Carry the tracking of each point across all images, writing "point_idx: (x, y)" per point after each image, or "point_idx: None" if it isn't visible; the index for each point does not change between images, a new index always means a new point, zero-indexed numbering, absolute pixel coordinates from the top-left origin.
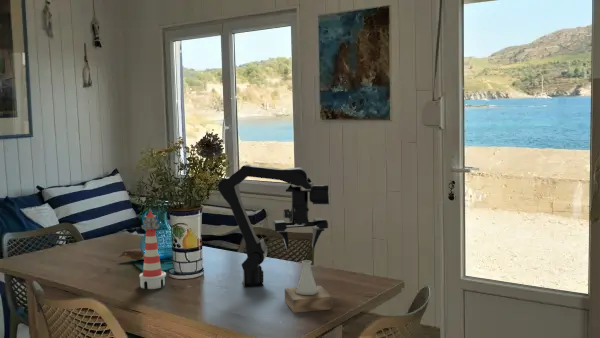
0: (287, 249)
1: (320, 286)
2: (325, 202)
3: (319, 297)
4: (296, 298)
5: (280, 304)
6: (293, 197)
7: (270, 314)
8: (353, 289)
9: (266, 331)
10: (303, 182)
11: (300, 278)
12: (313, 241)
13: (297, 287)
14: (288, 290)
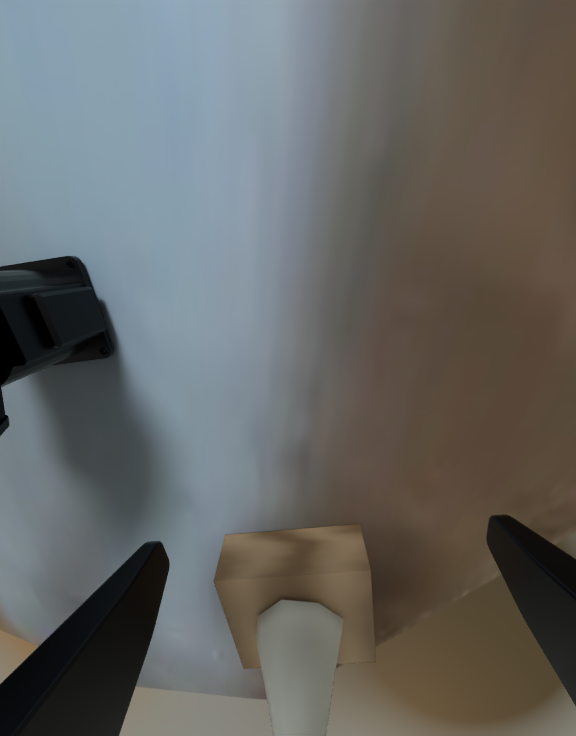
0: (158, 576)
1: (367, 579)
2: None
3: None
4: (254, 661)
5: (210, 560)
6: None
7: (184, 618)
8: (528, 454)
9: (183, 688)
10: None
11: (269, 705)
12: (570, 666)
13: (260, 648)
14: (229, 600)
